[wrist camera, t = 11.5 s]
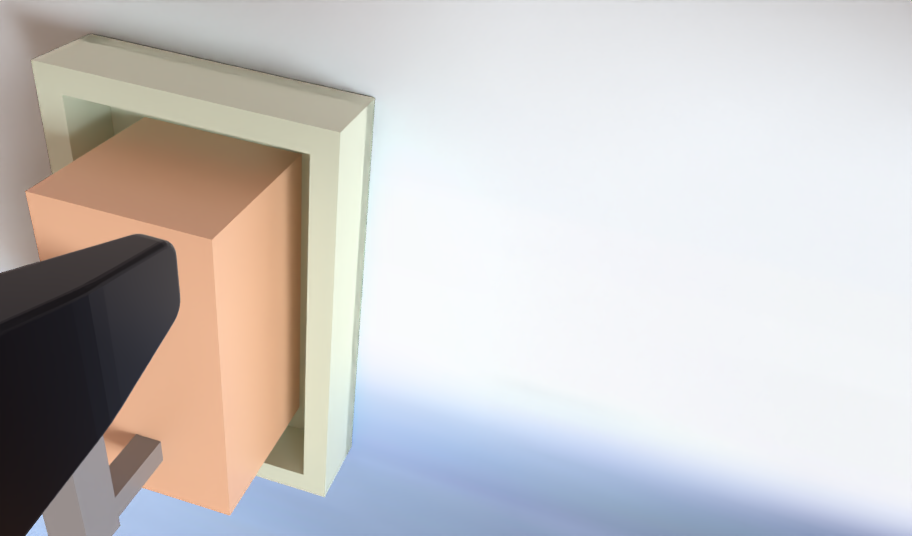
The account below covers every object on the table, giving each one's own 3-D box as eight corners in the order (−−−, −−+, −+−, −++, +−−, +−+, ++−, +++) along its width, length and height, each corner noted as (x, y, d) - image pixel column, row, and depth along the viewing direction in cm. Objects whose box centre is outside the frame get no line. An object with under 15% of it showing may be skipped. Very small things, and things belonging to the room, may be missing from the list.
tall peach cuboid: (301, 154, 23) (118, 328, 16) (299, 407, 28) (163, 619, 21) (144, 116, 23) (-98, 267, 16) (172, 370, 29) (1, 563, 22)
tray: (375, 98, 22) (340, 132, 20) (351, 446, 29) (324, 496, 27) (90, 33, 23) (30, 59, 21) (139, 383, 31) (98, 427, 29)
